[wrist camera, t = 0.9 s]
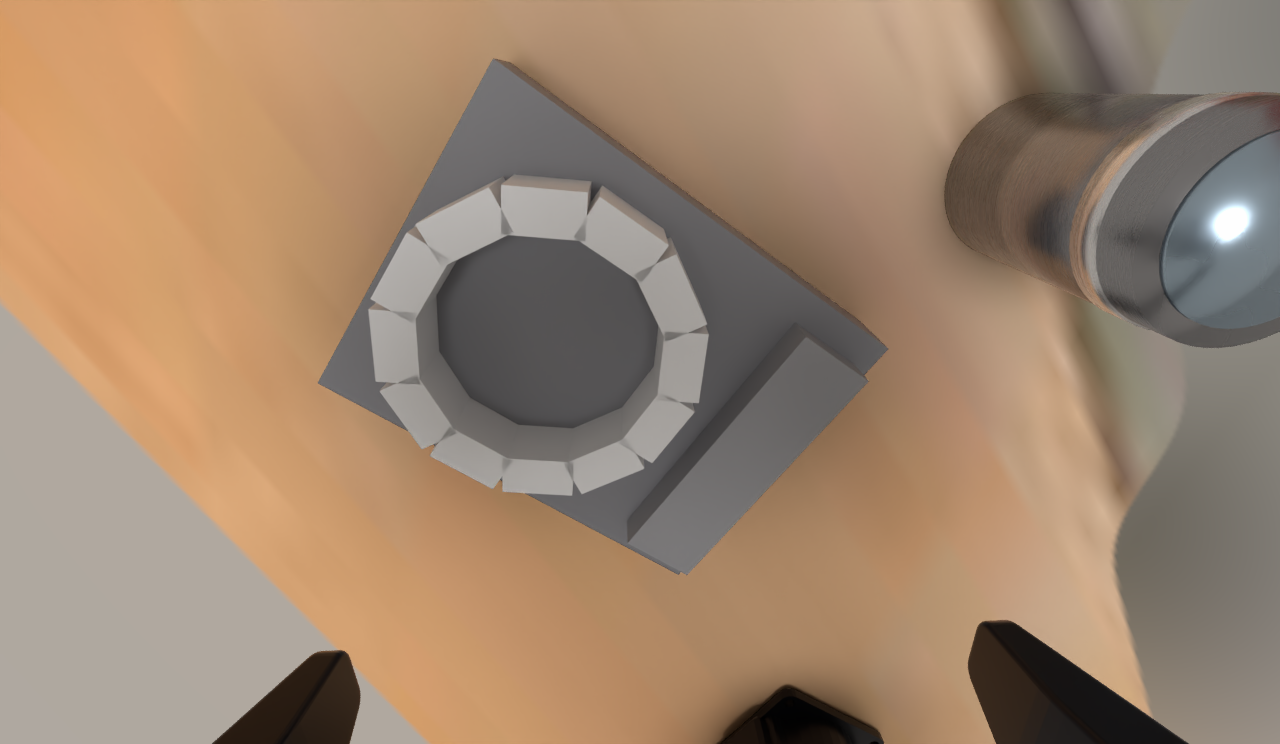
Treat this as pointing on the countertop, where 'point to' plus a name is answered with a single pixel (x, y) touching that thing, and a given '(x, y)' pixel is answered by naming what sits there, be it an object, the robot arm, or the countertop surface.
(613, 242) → the camera body
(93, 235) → the countertop surface
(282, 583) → the countertop surface
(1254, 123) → the lens
